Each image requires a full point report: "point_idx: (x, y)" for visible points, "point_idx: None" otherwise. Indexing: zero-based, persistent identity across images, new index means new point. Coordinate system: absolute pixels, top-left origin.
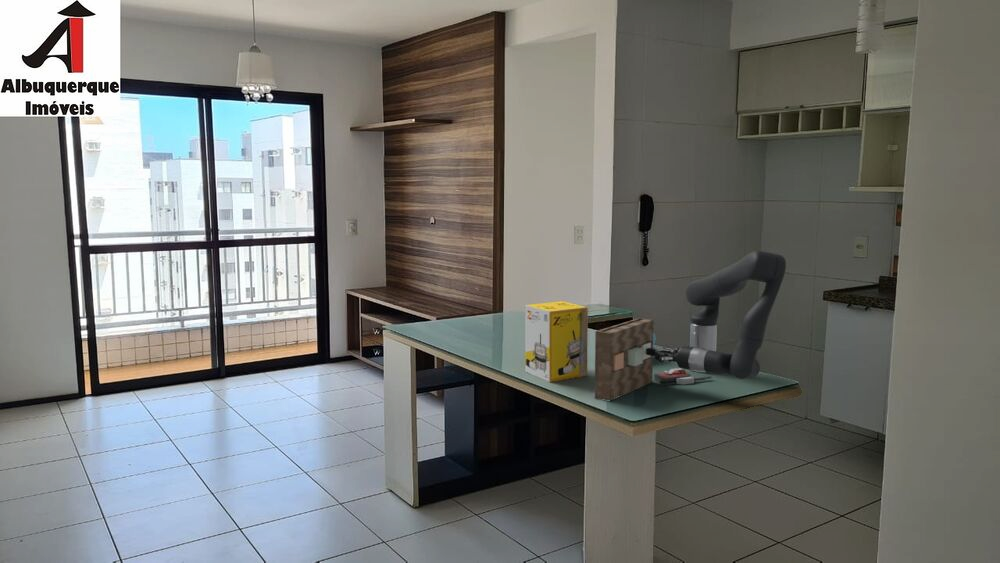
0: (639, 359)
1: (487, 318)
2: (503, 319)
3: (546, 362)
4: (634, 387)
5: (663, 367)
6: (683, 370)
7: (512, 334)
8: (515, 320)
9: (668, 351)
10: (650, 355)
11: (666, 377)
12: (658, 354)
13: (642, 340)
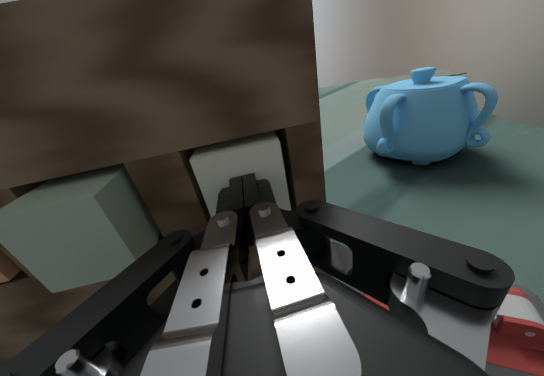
0: (85, 259)
1: (337, 86)
2: (348, 86)
3: None
4: None
5: (477, 203)
6: (536, 330)
7: (321, 101)
8: (357, 86)
9: (166, 338)
10: (290, 207)
11: None
12: (93, 306)
13: (180, 129)
